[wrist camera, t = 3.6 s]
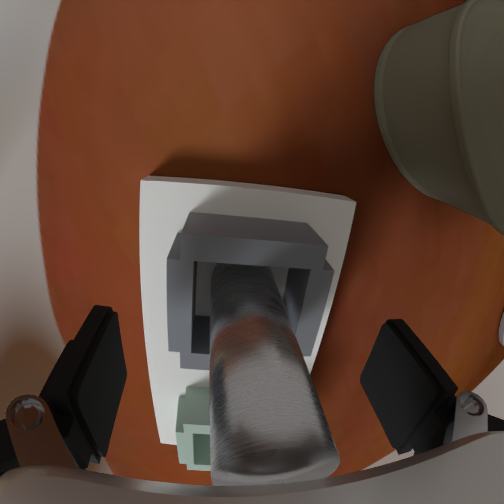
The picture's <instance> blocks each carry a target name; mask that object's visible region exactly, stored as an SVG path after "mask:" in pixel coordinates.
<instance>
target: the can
mask: <svg viewBox="0 0 504 504" xmlns="http://www.w3.org/2000/svg"><path fill="white" fill-rule="evenodd" d="M374 103H375V110H376V116H377V121H378V125H379V129H380V132H381V135H382V138H383V141H384V143H385V146H386V148H387V150H388V152H389V154H390V156H391V158H392V160H393V162H394V163H395V165H396V166H397V168H398V169H399V171H400V172H401V173H402V175H403V176H404V177H405V178H406V179H407V180H408V182H410V183H411V184H412V185H413V186H414V187H415V188H416V189H418V190H419V191H420V192H422V193H424V194H425V195H427V196H429V197H431V198H434V199H436V200H439V201H442V202H444V203H447V204H449V205H451V206H453V207H455V208H458V209H460V210H462V211H464V212H466V213H468V214H471V215H473V216H475V217H477V218H479V219H481V220H483V221H485V222H487V223H489V224H490V225H492V226H493V227H494V228H495V229H496V230H497V231H498V232H500V233H501V234H503V235H504V0H467V1H466V2H465V3H464V4H462V5H460V6H457V7H455V8H452V9H449V10H447V11H444V12H442V13H439V14H436V15H434V16H432V17H429V18H427V19H424V20H422V21H420V22H417V23H415V24H412V25H409V26H407V27H405V28H403V29H401V30H400V31H398V32H397V33H396V34H394V35H393V36H392V37H391V38H390V40H389V41H388V42H387V43H386V45H385V47H384V48H383V50H382V52H381V54H380V57H379V60H378V63H377V67H376V72H375V79H374Z"/></svg>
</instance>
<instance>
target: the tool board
mask: <svg viewBox="0 0 504 504" xmlns="http://www.w3.org/2000/svg"><path fill="white" fill-rule="evenodd" d="M355 207H356V202H355V201H353V200H352V199H350V198H348V197H346V196H343V195H337V194H330V193H324V192H317V191H310V190H302V189H295V188H287V187H278V186H270V185H261V184H252V183H242V182H232V181H221V180H209V179H196V178H181V177H165V176H147V177H145V178H144V179H142V180H141V185H140V275H141V295H142V310H143V323H144V334H145V344H146V353H147V362H148V370H149V377H150V384H151V391H152V397H153V404H154V410H155V415H156V421H157V426H158V431H159V437H160V441H161V443H164V444H174V445H177V449H178V456H179V463H181V464H187V470H204V471H211V456H210V404H209V356H210V301H211V276H212V273H213V270H214V268H215V266H216V265H217V264H218V263H228V264H242V265H256V266H269V267H270V269H271V271H272V274H273V276H274V279H275V282H276V284H277V287H278V290H279V292H280V295H281V298H282V300H283V303H284V306H285V308H286V311H287V314H288V317H289V319H290V322H291V325H292V327H293V330H294V333H295V335H296V338H297V341H298V344H299V346H300V349H301V352H302V354H303V357H304V360H305V363H306V365H307V368H308V371H309V373H311V370H312V367H313V364H314V361H315V358H316V355H317V352H318V349H319V346H320V343H321V339H322V336H323V333H324V330H325V326H326V323H327V320H328V316H329V313H330V309H331V306H332V302H333V299H334V295H335V291H336V288H337V284H338V280H339V276H340V272H341V268H342V264H343V260H344V256H345V252H346V248H347V244H348V239H349V235H350V230H351V226H352V221H353V217H354V212H355Z"/></svg>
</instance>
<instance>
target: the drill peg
mask: <svg viewBox="0 0 504 504" xmlns="http://www.w3.org/2000/svg"><path fill="white" fill-rule="evenodd" d="M209 404H210V456H211V481H212V483H213V485H214V486H248V485H268V484H281V483H291V482H300V481H307V480H314V479H321V478H327V477H328V476H329V475H331V474H332V473H333V472H334V471H335V470H336V469H337V467H338V465H339V463H340V457H339V454H338V451H337V448H336V446H335V443H334V440H333V437H332V434H331V432H330V429H329V426H328V423H327V420H326V418H325V415H324V412H323V409H322V407H321V404H320V401H319V398H318V395H317V393H316V390H315V387H314V384H313V382H312V379H311V376H310V373H309V371H308V368H307V365H306V363H305V360H304V357H303V354H302V352H301V349H300V346H299V344H298V341H297V338H296V335H295V333H294V330H293V327H292V325H291V322H290V319H289V317H288V314H287V311H286V308H285V306H284V303H283V300H282V298H281V295H280V292H279V290H278V287H277V284H276V282H275V279H274V276H273V274H272V271H271V269H270V267H269V266H256V265H242V264H228V263H218V264H217V265H216V266H215V268H214V270H213V273H212V276H211V301H210V356H209Z"/></svg>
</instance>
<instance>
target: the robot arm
mask: <svg viewBox="0 0 504 504" xmlns="http://www.w3.org/2000/svg"><path fill="white" fill-rule="evenodd" d="M499 341H500V343H501V344H502V346H503V347H504V312H503V315H502V318H501V322H500V327H499ZM126 377H127V370H126V365H125V359H124V353H123V347H122V341H121V335H120V328H119V321H118V314H117V312H113V310H112V308H111V307H107V306H100V305H95V306H94V307H93V308H92V310H91V312H90V313H89V315H88V316H87V318H86V320H85V321H84V323H83V325H82V327H81V328H80V330H79V332H78V333H77V335H76V337H75V339H74V340H70V341H69V342H68V343H67V345H66V347H65V348H64V350H63V352H62V354H61V356H60V357H59V359H58V361H57V363H56V364H55V366H54V368H53V370H52V372H51V374H50V376H49V377H48V380H47V381H46V383H45V385H44V387H43V389H42V391H41V393H40V395H39V396H36V395H33V394H24V395H20V396H18V397H16V398H14V399H13V400H12V401H11V402H10V403H9V405H8V406H7V408H6V412H5V417H6V418H5V419H3V420H1V421H0V504H504V420H502V419H499V418H496V417H494V416H491V415H489V414H487V406H486V403H485V402H484V400H483V399H482V398H481V397H480V396H478V395H477V394H475V393H473V392H469V391H465V392H461V393H460V394H459V395H458V396H457V397H455V395H454V394H455V393H456V391H457V390H458V387H457V386H456V385H455V383H454V382H453V381H452V379H451V378H450V377H449V375H448V374H447V373H446V372H445V370H444V369H443V368H442V367H441V365H440V364H439V363H438V362H437V360H436V359H435V358H434V357H433V355H432V354H431V353H430V352H429V350H428V349H427V348H426V347H425V345H424V344H423V343H422V342H421V341H420V339H419V338H418V337H417V336H416V335H415V333H414V332H413V331H412V330H411V329H410V327H409V326H408V325H407V324H406V323H405V322H404V321H403V320H402V319H389V320H387V321H386V323H385V324H383V325H382V327H381V329H380V332H379V334H378V337H377V339H376V342H375V344H374V346H373V349H372V351H371V353H370V356H369V358H368V360H367V363H366V365H365V367H364V369H363V371H362V374H361V376H360V382H361V385H362V387H363V389H364V391H365V393H366V395H367V397H368V399H369V401H370V403H371V405H372V407H373V409H374V411H375V413H376V415H377V417H378V419H379V421H380V423H381V425H382V427H383V429H384V431H385V433H386V435H387V437H388V439H389V441H390V443H391V445H392V447H393V448H396V450H397V452H398V454H403V453H406V452H409V451H411V450H412V448H413V449H414V451H415V452H414V456H412V457H409V458H406V459H402V460H399V461H396V462H392V463H389V464H385V465H382V466H378V467H374V468H370V469H366V470H362V471H357V472H353V473H348V474H343V475H338V476H333V477H327V478H321V479H314V480H307V481H300V482H291V483H281V484H268V485H248V486H207V485H188V484H176V483H165V482H155V481H147V480H140V479H133V478H127V477H121V476H116V475H109V474H104V473H98V472H92V471H88V470H86V469H85V468H87V467H88V464H89V462H93V463H97V464H99V463H100V459H101V456H102V457H105V456H106V454H107V451H108V446H109V442H110V438H111V434H112V430H113V426H114V422H115V418H116V414H117V411H118V407H119V403H120V400H121V396H122V392H123V389H124V385H125V382H126Z"/></svg>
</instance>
